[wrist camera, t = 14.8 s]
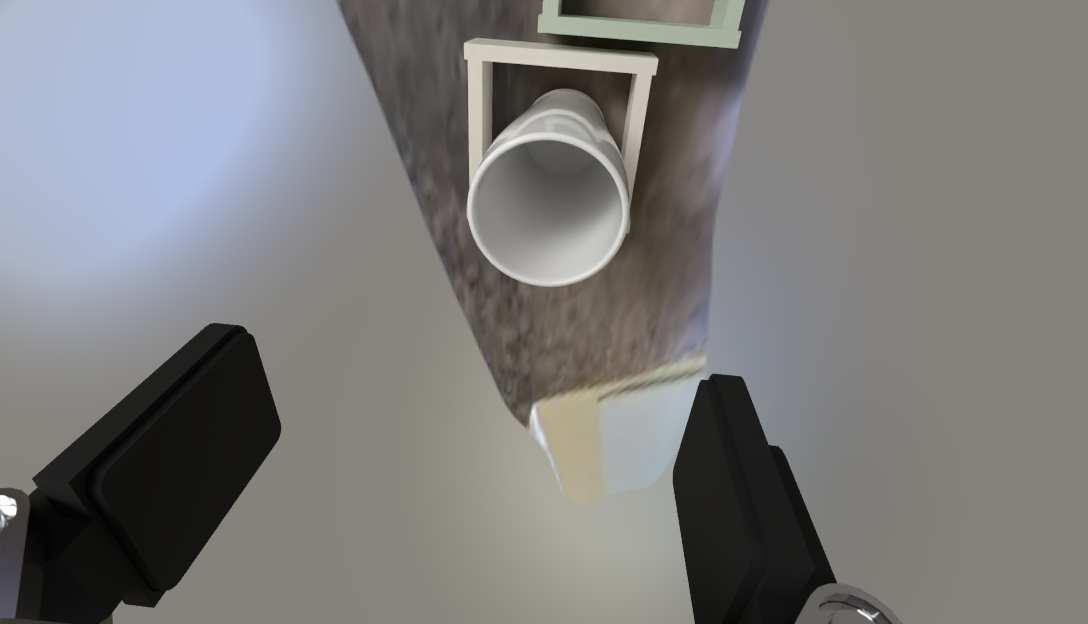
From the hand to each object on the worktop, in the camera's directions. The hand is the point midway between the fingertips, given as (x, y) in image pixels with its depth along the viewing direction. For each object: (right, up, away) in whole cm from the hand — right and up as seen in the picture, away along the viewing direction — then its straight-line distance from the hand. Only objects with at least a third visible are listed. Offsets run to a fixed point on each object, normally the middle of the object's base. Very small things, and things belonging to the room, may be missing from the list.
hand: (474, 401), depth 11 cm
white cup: (+3, +14, +22) cm, 27 cm away
